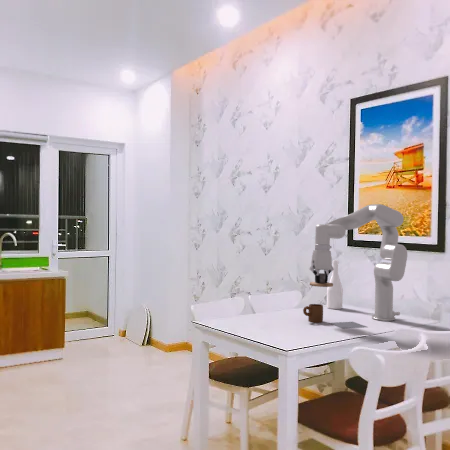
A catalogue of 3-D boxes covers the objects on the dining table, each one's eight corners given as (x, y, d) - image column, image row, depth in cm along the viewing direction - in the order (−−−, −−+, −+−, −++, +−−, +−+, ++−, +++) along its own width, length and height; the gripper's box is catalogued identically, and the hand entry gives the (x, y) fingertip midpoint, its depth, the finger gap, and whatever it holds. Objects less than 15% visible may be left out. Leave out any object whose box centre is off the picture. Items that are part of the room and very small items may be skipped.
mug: (307, 325, 257) (308, 307, 256) (298, 322, 263) (299, 304, 263) (325, 323, 262) (326, 305, 262) (316, 320, 269) (316, 303, 269)
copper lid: (325, 283, 268) (325, 272, 268) (337, 286, 257) (337, 274, 257) (305, 284, 264) (305, 272, 264) (317, 287, 253) (317, 274, 253)
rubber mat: (352, 323, 265) (352, 321, 265) (368, 328, 251) (368, 327, 251) (327, 324, 260) (328, 322, 260) (342, 330, 247) (342, 328, 247)
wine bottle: (345, 308, 309) (346, 260, 309) (334, 309, 304) (335, 260, 304) (334, 306, 317) (335, 259, 317) (323, 307, 313) (324, 259, 312)
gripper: (332, 247, 267) (331, 281, 267) (304, 247, 261) (303, 282, 262) (340, 248, 260) (339, 283, 260) (311, 248, 254) (310, 284, 254)
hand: (321, 282), depth 261 cm, fingers closed on copper lid, 4 cm apart
